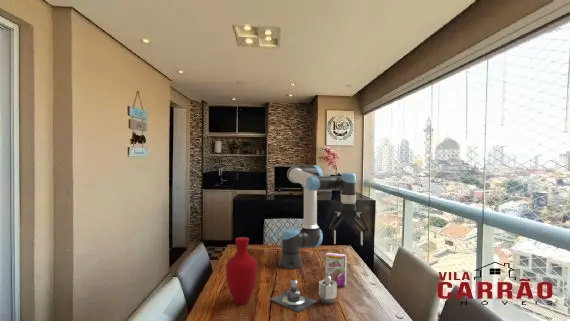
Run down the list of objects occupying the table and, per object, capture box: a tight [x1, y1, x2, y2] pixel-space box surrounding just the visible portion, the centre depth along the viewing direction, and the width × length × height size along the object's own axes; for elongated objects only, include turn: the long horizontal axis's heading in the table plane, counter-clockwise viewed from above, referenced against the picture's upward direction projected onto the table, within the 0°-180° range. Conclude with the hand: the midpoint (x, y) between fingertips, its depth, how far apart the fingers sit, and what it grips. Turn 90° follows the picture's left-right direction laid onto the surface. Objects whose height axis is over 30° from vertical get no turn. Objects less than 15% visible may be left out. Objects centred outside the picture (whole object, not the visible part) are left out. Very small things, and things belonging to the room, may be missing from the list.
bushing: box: [318, 279, 338, 299], centre depth 154 cm, size 8×8×6 cm
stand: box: [320, 275, 335, 305], centre depth 154 cm, size 6×6×12 cm
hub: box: [269, 278, 318, 313], centre depth 153 cm, size 18×14×10 cm
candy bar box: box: [324, 252, 347, 288], centre depth 175 cm, size 11×5×16 cm, turn 71°
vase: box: [225, 236, 258, 305], centre depth 153 cm, size 15×15×30 cm
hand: (348, 244), depth 166 cm, fingers open, 13 cm apart
